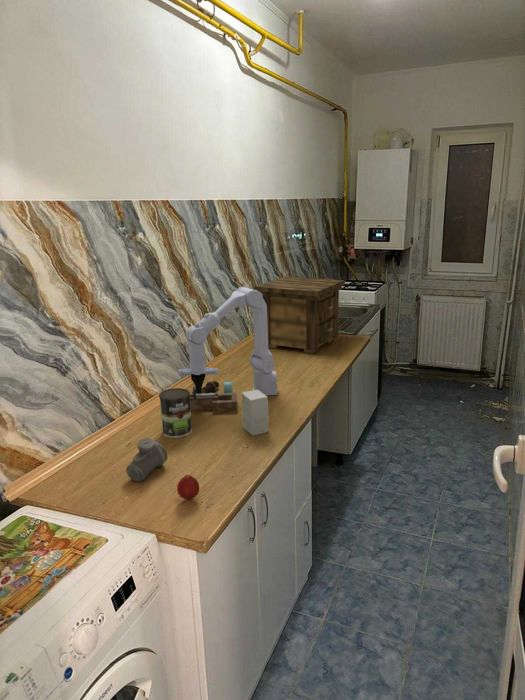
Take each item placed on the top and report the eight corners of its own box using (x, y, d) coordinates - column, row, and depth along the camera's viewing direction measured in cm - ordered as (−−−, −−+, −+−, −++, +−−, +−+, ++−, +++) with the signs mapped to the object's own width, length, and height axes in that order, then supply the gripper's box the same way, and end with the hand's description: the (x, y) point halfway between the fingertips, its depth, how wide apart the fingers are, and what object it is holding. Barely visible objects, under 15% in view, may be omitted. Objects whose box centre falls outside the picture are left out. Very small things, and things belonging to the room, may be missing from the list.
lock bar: (215, 395, 196) (214, 385, 194) (214, 398, 193) (214, 388, 192) (194, 396, 195) (193, 386, 194) (193, 399, 192) (192, 389, 191)
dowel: (233, 395, 207) (232, 381, 205) (232, 398, 204) (232, 384, 202) (224, 395, 207) (223, 381, 205) (223, 399, 203) (223, 385, 202)
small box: (269, 432, 175) (268, 396, 171) (252, 436, 172) (251, 400, 168) (258, 423, 182) (257, 388, 178) (242, 426, 179) (241, 392, 175)
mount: (237, 402, 200) (236, 389, 198) (237, 411, 191) (236, 398, 190) (190, 404, 199) (190, 391, 198) (188, 413, 191) (187, 400, 189)
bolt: (218, 392, 215) (199, 405, 202) (208, 385, 217) (189, 397, 203) (224, 382, 213) (205, 393, 200) (214, 375, 214) (195, 386, 201)
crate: (286, 332, 297) (285, 276, 287) (343, 339, 280) (344, 280, 270) (255, 348, 268) (253, 286, 259) (317, 357, 251) (317, 291, 242)
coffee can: (196, 433, 175) (194, 395, 171) (167, 440, 170) (164, 401, 166) (186, 422, 184) (183, 385, 179) (158, 429, 179) (155, 391, 175)
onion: (179, 494, 140) (176, 468, 137) (200, 493, 140) (198, 467, 138) (177, 507, 134) (175, 480, 132) (199, 505, 134) (197, 478, 132)
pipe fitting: (147, 458, 158) (144, 430, 154) (169, 465, 155) (166, 437, 151) (122, 481, 148) (118, 453, 144) (145, 489, 145) (142, 460, 141)
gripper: (176, 362, 185) (179, 397, 189) (216, 361, 186) (218, 395, 190) (178, 356, 192) (181, 390, 196) (217, 355, 192) (219, 388, 196)
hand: (199, 392), depth 193 cm, fingers closed
